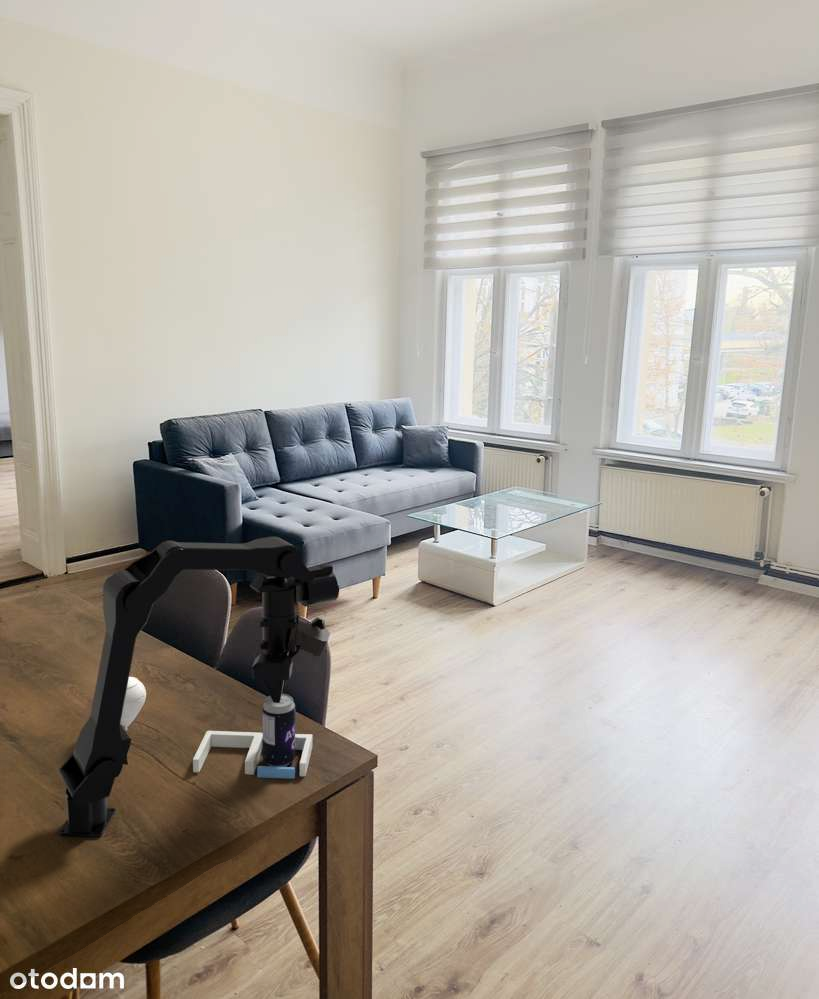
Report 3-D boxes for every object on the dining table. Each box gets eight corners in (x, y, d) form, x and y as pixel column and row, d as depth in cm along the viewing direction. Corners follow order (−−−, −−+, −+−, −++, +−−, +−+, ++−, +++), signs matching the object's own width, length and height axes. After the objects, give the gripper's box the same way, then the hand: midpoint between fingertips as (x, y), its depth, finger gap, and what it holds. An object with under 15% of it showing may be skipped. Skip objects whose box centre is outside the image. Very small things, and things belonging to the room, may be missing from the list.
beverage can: (288, 772, 139) (288, 709, 136) (258, 767, 140) (257, 705, 137) (299, 755, 144) (299, 694, 142) (269, 750, 145) (269, 690, 143)
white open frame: (304, 779, 137) (304, 766, 136) (192, 774, 137) (191, 761, 136) (312, 746, 147) (312, 734, 147) (207, 742, 147) (207, 730, 147)
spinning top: (102, 743, 146) (99, 683, 143) (106, 722, 153) (103, 665, 150) (146, 738, 148) (144, 679, 145) (148, 718, 155) (146, 661, 152)
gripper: (320, 634, 127) (319, 723, 130) (332, 594, 145) (330, 672, 148) (250, 631, 127) (251, 720, 130) (271, 591, 145) (271, 670, 148)
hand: (279, 694), depth 139 cm, fingers open, 5 cm apart
